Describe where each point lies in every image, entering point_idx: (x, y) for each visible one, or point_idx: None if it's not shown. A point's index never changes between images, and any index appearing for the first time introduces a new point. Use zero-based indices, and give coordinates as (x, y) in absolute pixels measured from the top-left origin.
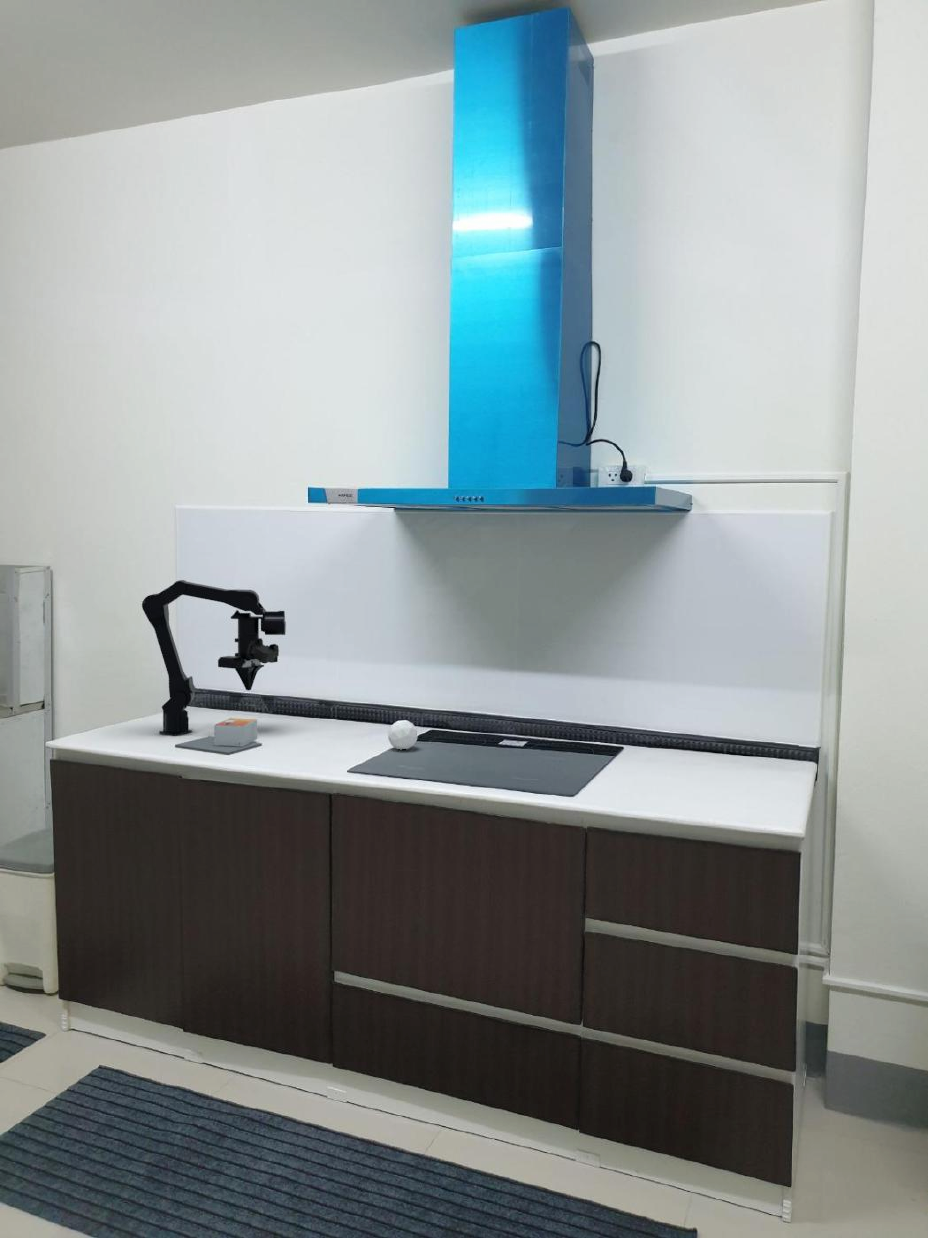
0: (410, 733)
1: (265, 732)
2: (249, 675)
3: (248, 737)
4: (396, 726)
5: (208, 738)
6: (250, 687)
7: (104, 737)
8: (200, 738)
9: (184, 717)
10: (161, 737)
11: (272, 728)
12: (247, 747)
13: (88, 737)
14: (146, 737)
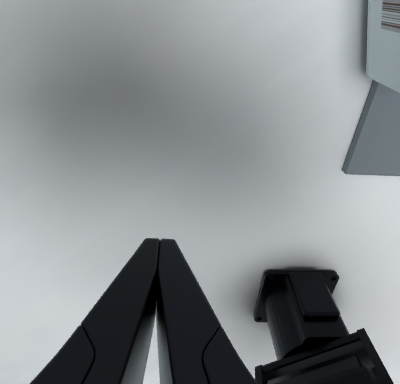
0: None
1: (127, 36)
2: (216, 381)
3: None
4: None
5: (391, 151)
6: (156, 252)
7: (387, 364)
8: (397, 175)
9: (325, 315)
10: (360, 287)
11: (27, 69)
12: None
13: (393, 380)
14: (369, 311)
